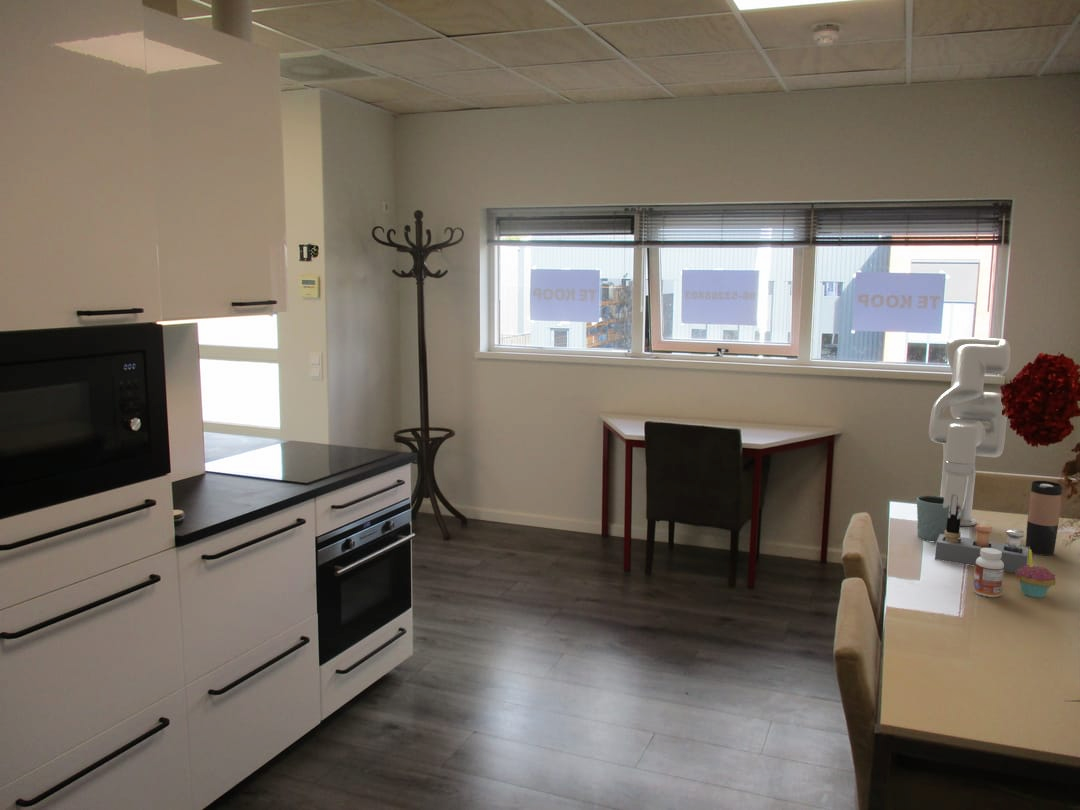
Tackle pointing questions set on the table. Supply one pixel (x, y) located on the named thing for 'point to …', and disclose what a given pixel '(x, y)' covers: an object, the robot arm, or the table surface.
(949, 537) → the oak plug
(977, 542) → the terracotta plug
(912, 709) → the table surface
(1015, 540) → the aluminium plug
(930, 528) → the green tapered cup
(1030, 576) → the cupcake
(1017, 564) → the socket block
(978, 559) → the pill bottle
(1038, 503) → the travel mug
